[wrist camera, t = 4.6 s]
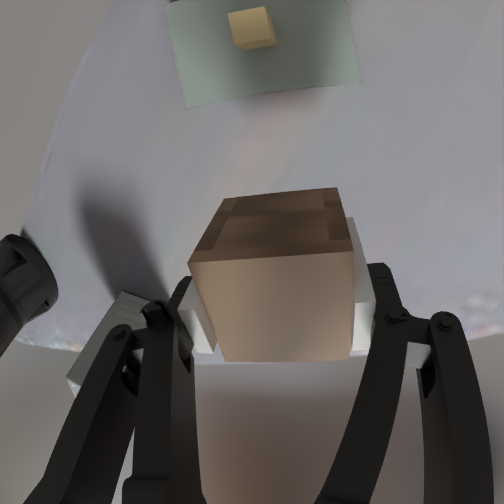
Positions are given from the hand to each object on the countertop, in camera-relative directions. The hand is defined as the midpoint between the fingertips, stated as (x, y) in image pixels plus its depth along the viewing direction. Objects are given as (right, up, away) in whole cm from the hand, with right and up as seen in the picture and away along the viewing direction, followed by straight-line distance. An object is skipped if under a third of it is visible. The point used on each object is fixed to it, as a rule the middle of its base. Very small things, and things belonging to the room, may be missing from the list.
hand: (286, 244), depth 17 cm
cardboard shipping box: (0, 0, 0) cm, 0 cm away
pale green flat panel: (-1, +17, +2) cm, 17 cm away
